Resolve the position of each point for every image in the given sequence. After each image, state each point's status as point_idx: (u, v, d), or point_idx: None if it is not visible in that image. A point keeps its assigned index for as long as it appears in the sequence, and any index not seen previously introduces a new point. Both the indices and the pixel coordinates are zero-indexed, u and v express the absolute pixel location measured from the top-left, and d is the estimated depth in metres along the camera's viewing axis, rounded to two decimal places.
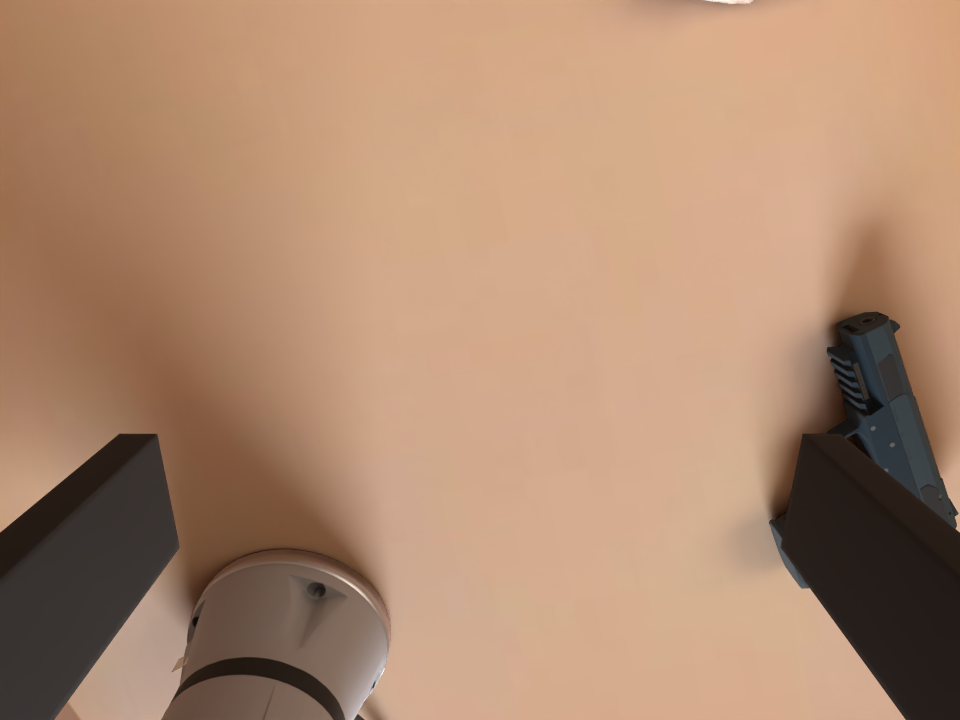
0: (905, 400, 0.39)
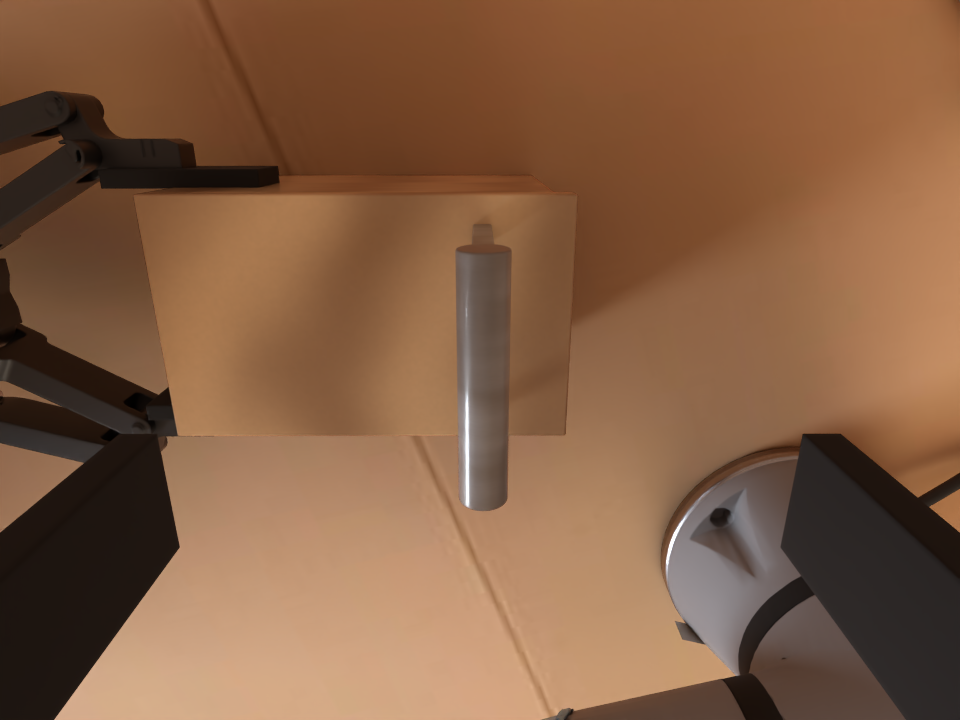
0: None
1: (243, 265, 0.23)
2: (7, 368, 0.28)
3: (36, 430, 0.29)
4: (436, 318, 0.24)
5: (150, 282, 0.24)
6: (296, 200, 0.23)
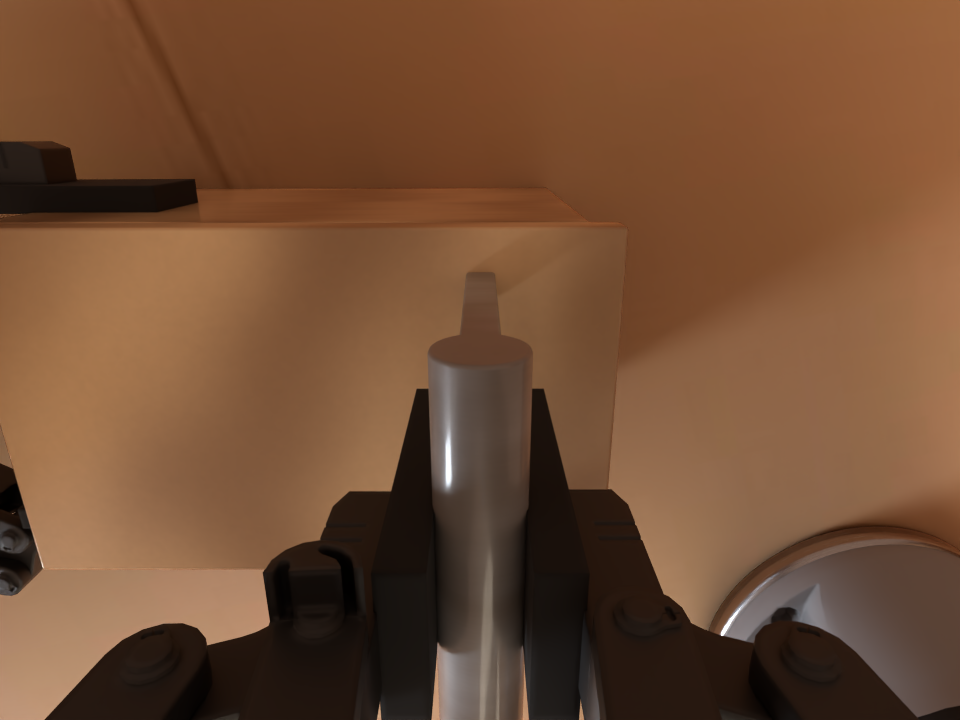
0: None
1: (120, 333, 0.15)
2: None
3: None
4: None
5: None
6: (194, 236, 0.15)
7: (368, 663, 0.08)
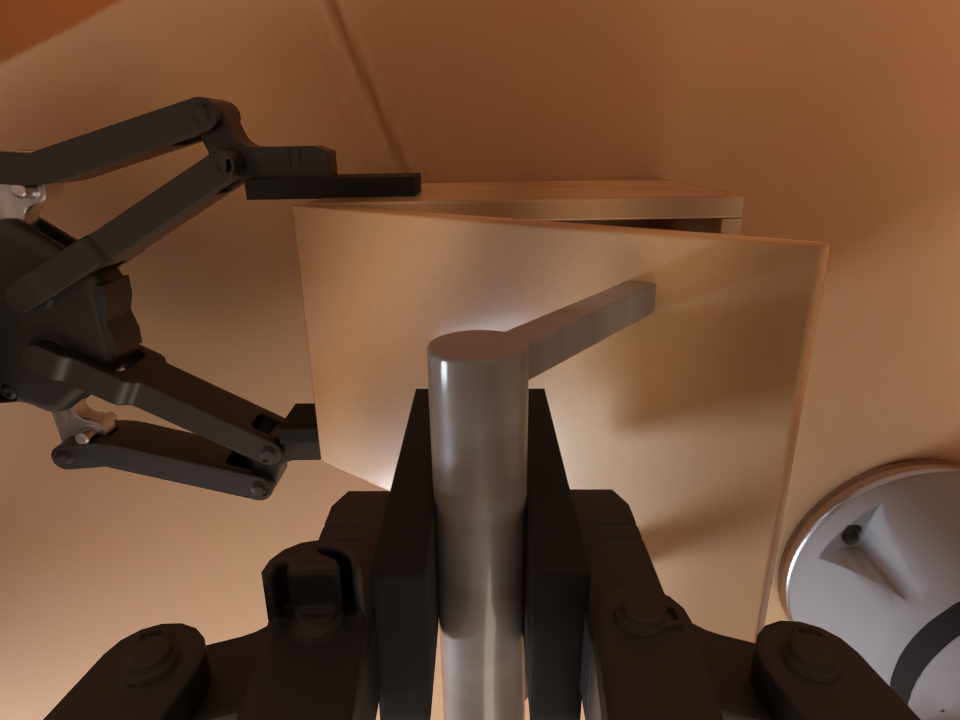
0: None
1: (372, 295, 0.20)
2: (135, 392, 0.27)
3: (160, 456, 0.28)
4: (568, 409, 0.16)
5: (303, 299, 0.22)
6: (421, 223, 0.18)
7: (367, 663, 0.08)
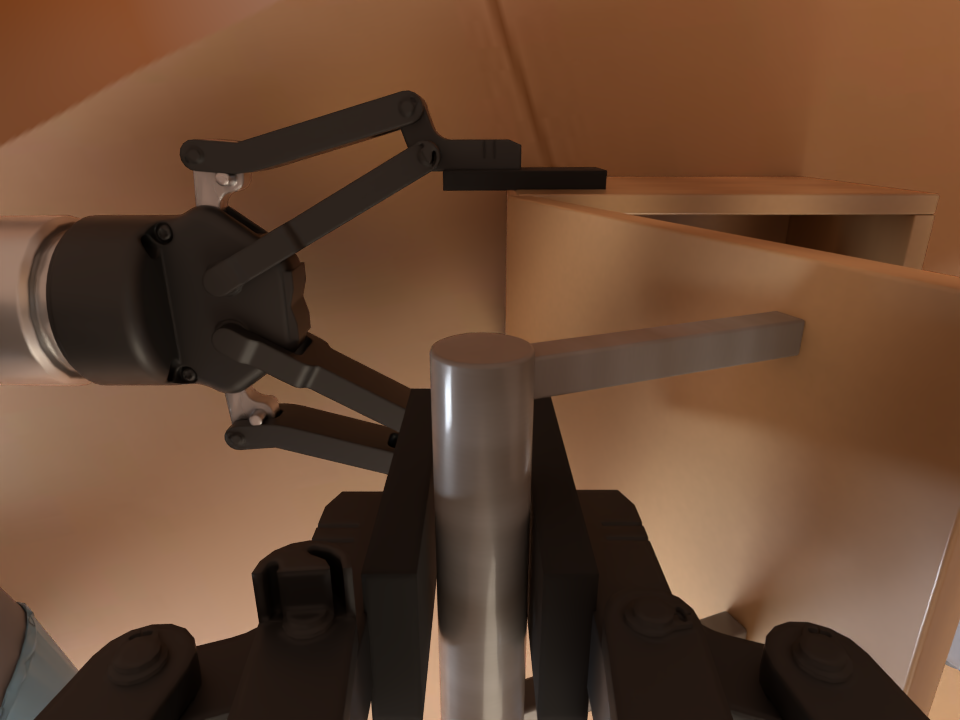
0: None
1: (553, 290, 0.20)
2: (313, 375, 0.28)
3: (330, 438, 0.29)
4: (700, 448, 0.14)
5: (507, 286, 0.23)
6: (596, 222, 0.17)
7: (358, 663, 0.08)
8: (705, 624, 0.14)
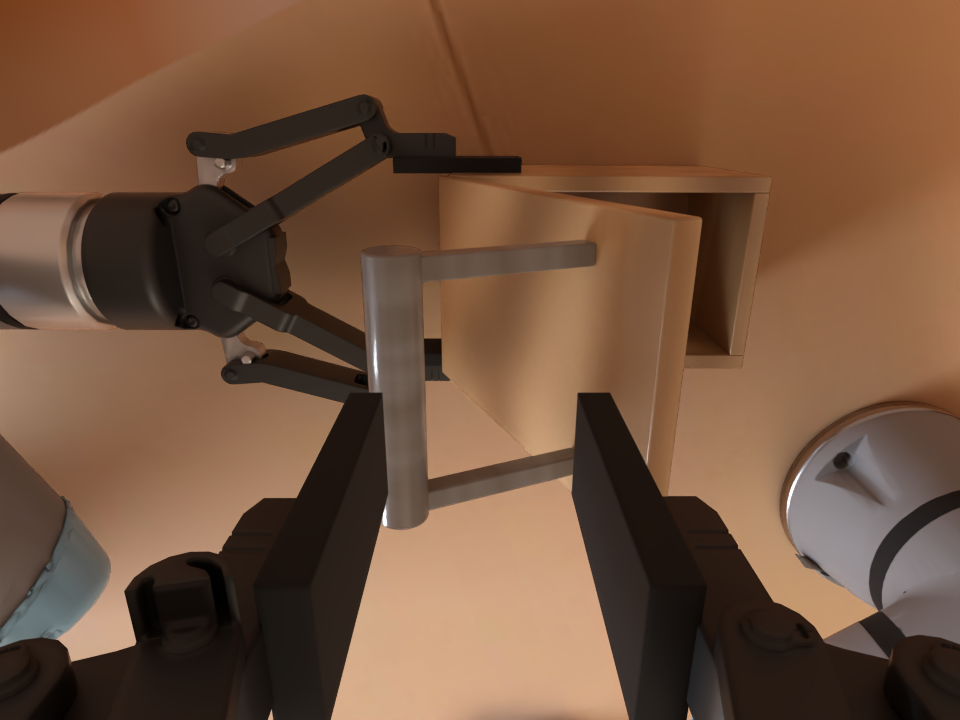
0: None
1: (469, 245, 0.27)
2: (292, 322, 0.34)
3: (306, 374, 0.35)
4: (553, 340, 0.21)
5: (440, 246, 0.30)
6: (492, 192, 0.24)
7: (247, 672, 0.08)
8: (554, 453, 0.21)
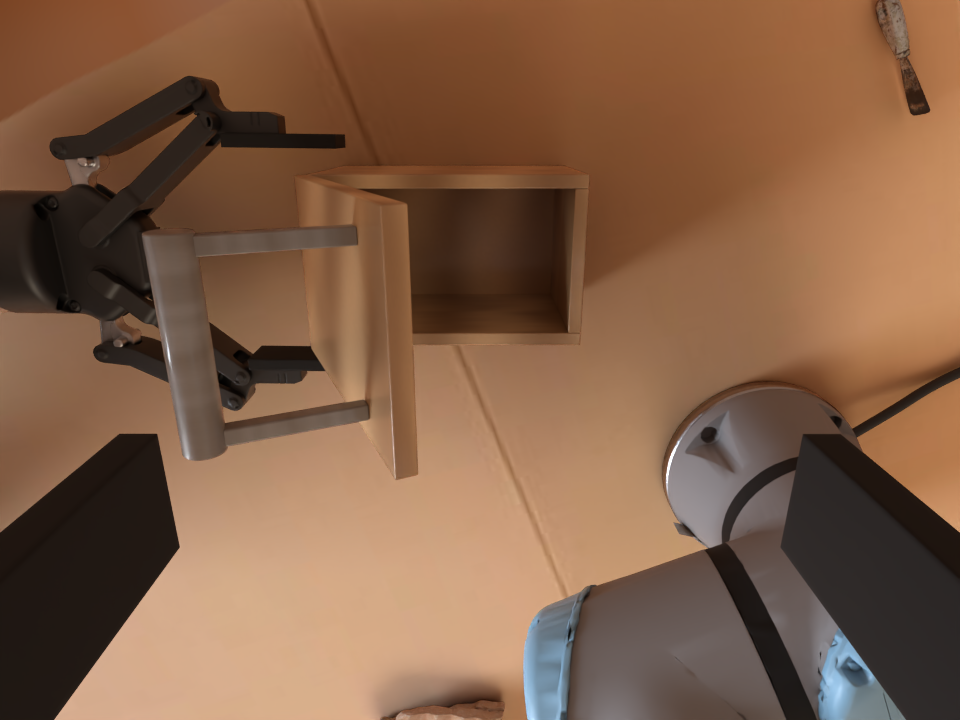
0: None
1: None
2: None
3: None
4: (349, 310, 0.25)
5: None
6: (316, 187, 0.28)
7: None
8: (346, 403, 0.25)
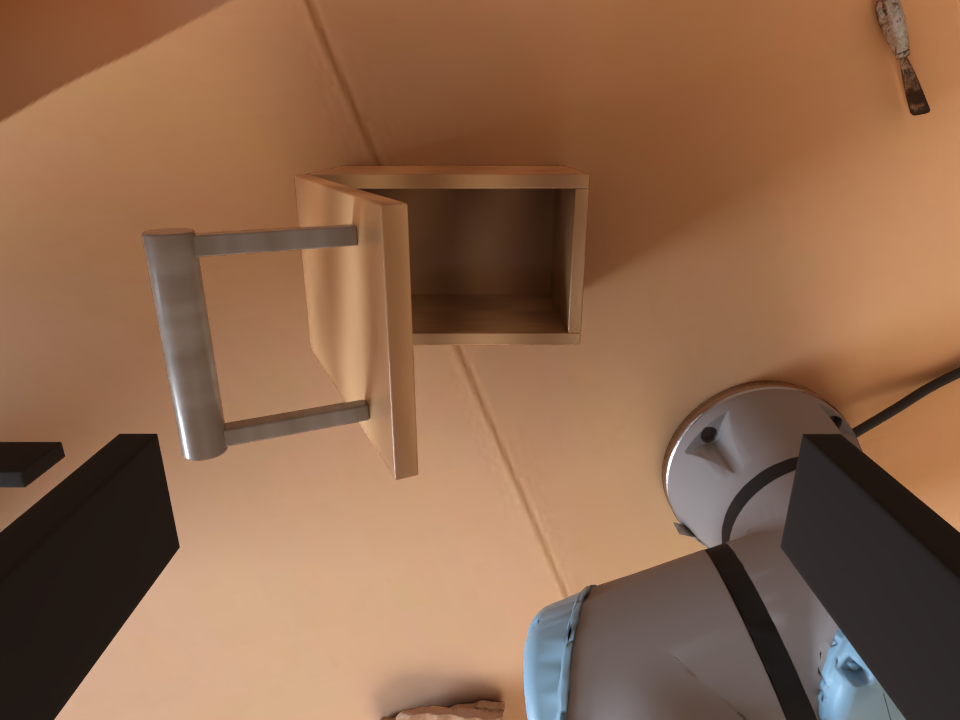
0: None
1: None
2: None
3: None
4: (349, 310, 0.25)
5: None
6: (316, 187, 0.28)
7: None
8: (346, 403, 0.25)
